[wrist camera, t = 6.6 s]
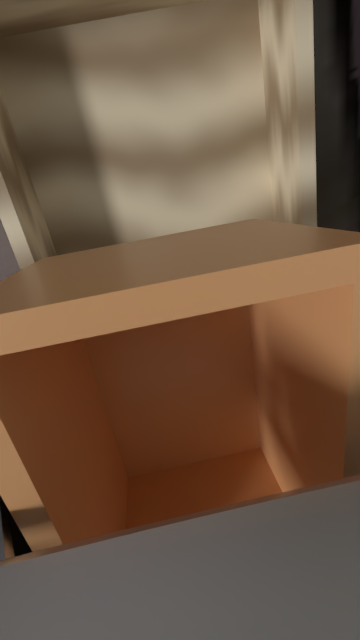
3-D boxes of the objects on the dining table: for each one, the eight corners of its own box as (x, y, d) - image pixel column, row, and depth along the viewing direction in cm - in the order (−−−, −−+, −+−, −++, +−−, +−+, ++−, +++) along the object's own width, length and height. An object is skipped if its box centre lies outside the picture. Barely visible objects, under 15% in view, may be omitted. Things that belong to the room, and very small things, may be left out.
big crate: (-31, 32, 20) (-101, -39, 14) (264, -22, 20) (310, -109, 15) (61, 292, 26) (38, 315, 20) (281, 245, 27) (317, 255, 21)
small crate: (42, 258, 10) (-93, 332, 4) (252, 218, 10) (395, 236, 4) (118, 479, 13) (102, 675, 8) (268, 444, 14) (356, 608, 8)
